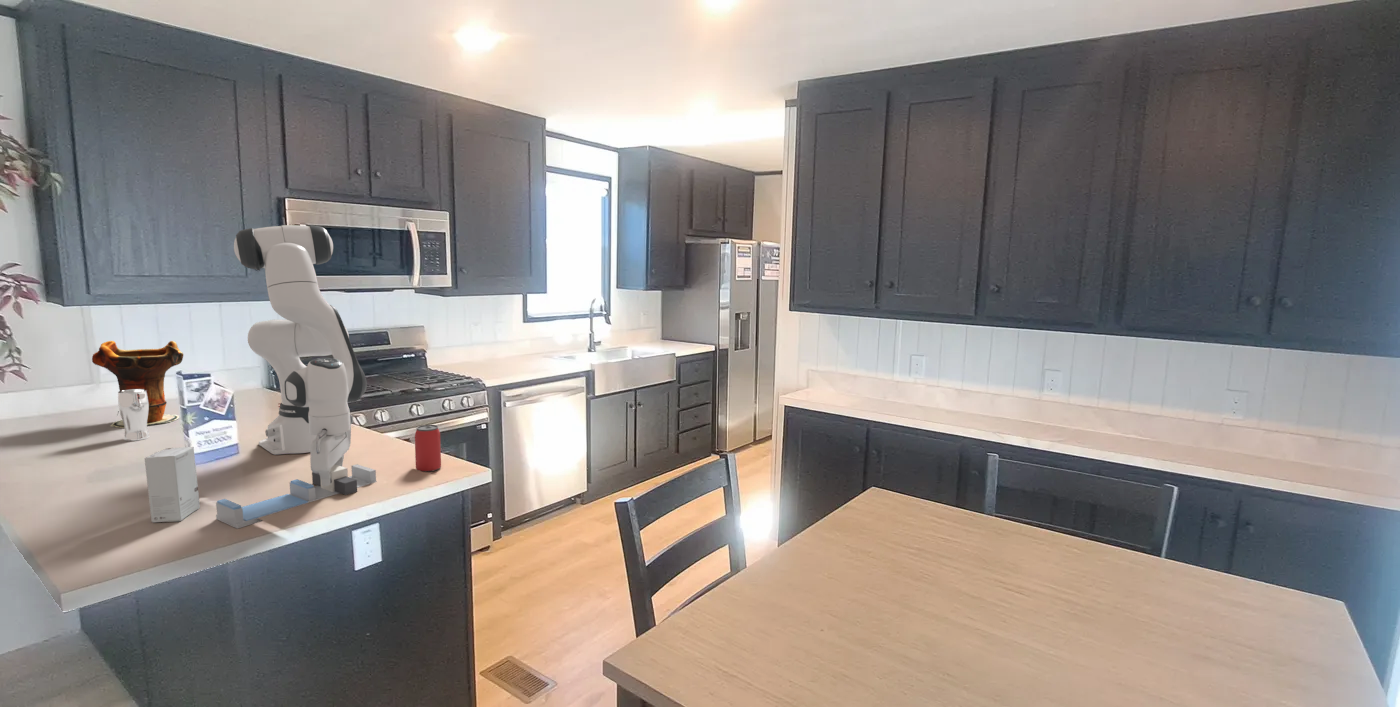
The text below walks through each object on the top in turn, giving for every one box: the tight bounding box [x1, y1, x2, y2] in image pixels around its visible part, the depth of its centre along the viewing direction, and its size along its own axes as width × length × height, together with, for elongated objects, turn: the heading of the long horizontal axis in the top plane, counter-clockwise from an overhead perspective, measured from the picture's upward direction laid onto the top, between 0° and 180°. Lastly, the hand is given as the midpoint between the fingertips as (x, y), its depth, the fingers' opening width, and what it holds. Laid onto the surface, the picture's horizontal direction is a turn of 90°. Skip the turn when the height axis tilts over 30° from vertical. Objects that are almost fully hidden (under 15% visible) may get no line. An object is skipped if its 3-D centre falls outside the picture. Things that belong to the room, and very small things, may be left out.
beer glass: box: [117, 389, 151, 442], centre depth 198 cm, size 7×7×15 cm
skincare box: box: [144, 446, 201, 523], centre depth 143 cm, size 8×6×15 cm
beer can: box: [414, 424, 442, 473], centre depth 179 cm, size 7×7×12 cm
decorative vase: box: [91, 340, 184, 429], centre depth 217 cm, size 21×23×28 cm
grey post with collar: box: [311, 464, 358, 496], centre depth 161 cm, size 14×4×5 cm, turn 60°
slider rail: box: [215, 463, 378, 530], centre depth 154 cm, size 9×32×4 cm, turn 150°
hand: (332, 478), depth 160 cm, fingers open, 8 cm apart
